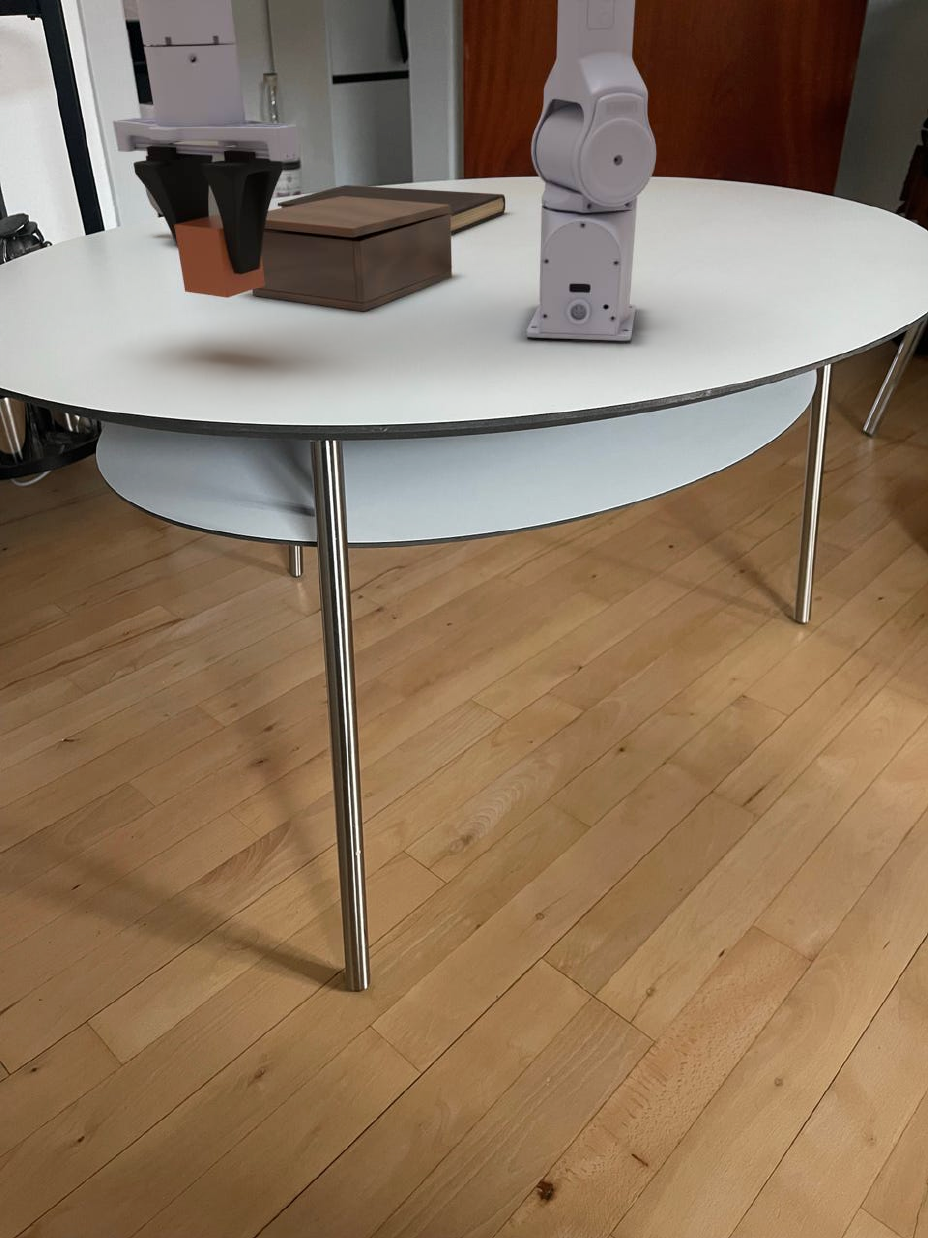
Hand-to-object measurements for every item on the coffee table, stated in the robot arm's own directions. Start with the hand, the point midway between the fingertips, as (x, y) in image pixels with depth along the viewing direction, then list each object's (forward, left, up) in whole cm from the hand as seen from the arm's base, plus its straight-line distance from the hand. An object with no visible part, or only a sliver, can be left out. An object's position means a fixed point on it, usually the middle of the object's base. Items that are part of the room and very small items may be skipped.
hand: (222, 267), depth 70 cm
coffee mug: (+43, +20, -7) cm, 48 cm away
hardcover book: (+58, +2, -7) cm, 58 cm away
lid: (+23, -3, -1) cm, 23 cm away
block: (0, 0, -1) cm, 1 cm away
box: (+23, -3, -6) cm, 24 cm away
